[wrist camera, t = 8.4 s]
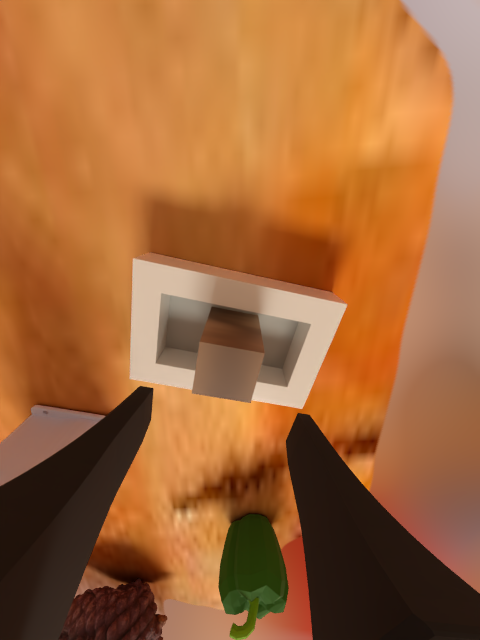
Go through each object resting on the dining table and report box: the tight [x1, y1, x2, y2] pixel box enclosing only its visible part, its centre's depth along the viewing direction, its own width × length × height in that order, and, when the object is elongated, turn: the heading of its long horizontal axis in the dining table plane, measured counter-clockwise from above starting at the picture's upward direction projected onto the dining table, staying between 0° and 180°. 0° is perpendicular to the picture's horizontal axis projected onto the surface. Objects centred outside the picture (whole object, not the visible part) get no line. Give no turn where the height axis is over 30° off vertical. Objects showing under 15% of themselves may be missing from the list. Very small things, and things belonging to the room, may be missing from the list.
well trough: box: [130, 252, 348, 409], centre depth 19 cm, size 15×10×3 cm, turn 78°
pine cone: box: [58, 578, 167, 640], centre depth 36 cm, size 18×10×10 cm, turn 60°
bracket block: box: [192, 307, 265, 403], centre depth 17 cm, size 4×4×6 cm
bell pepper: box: [219, 514, 288, 640], centre depth 28 cm, size 8×8×10 cm
